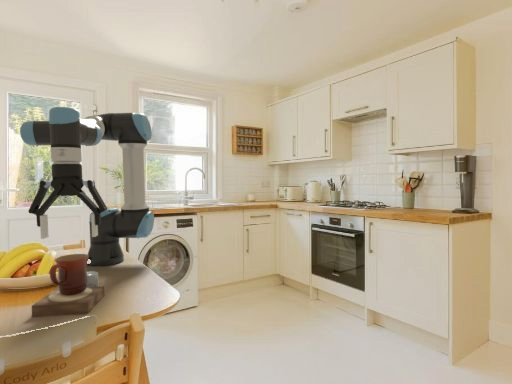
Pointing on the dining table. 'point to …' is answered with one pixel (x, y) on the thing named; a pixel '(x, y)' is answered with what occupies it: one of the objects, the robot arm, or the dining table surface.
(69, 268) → the mug
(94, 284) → the grey rounded block
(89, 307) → the base slab
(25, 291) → the dining table surface
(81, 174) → the robot arm
